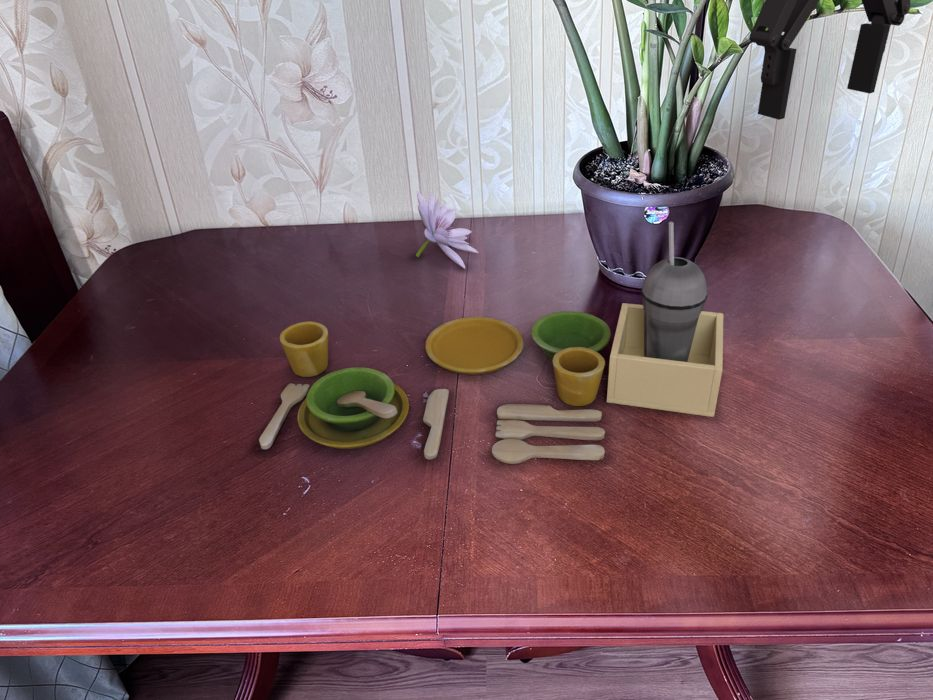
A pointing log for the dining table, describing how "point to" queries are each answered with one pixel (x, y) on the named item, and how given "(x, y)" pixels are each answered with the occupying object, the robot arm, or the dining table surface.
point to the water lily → (442, 228)
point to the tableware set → (461, 351)
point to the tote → (666, 367)
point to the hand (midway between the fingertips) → (817, 103)
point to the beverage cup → (672, 306)
